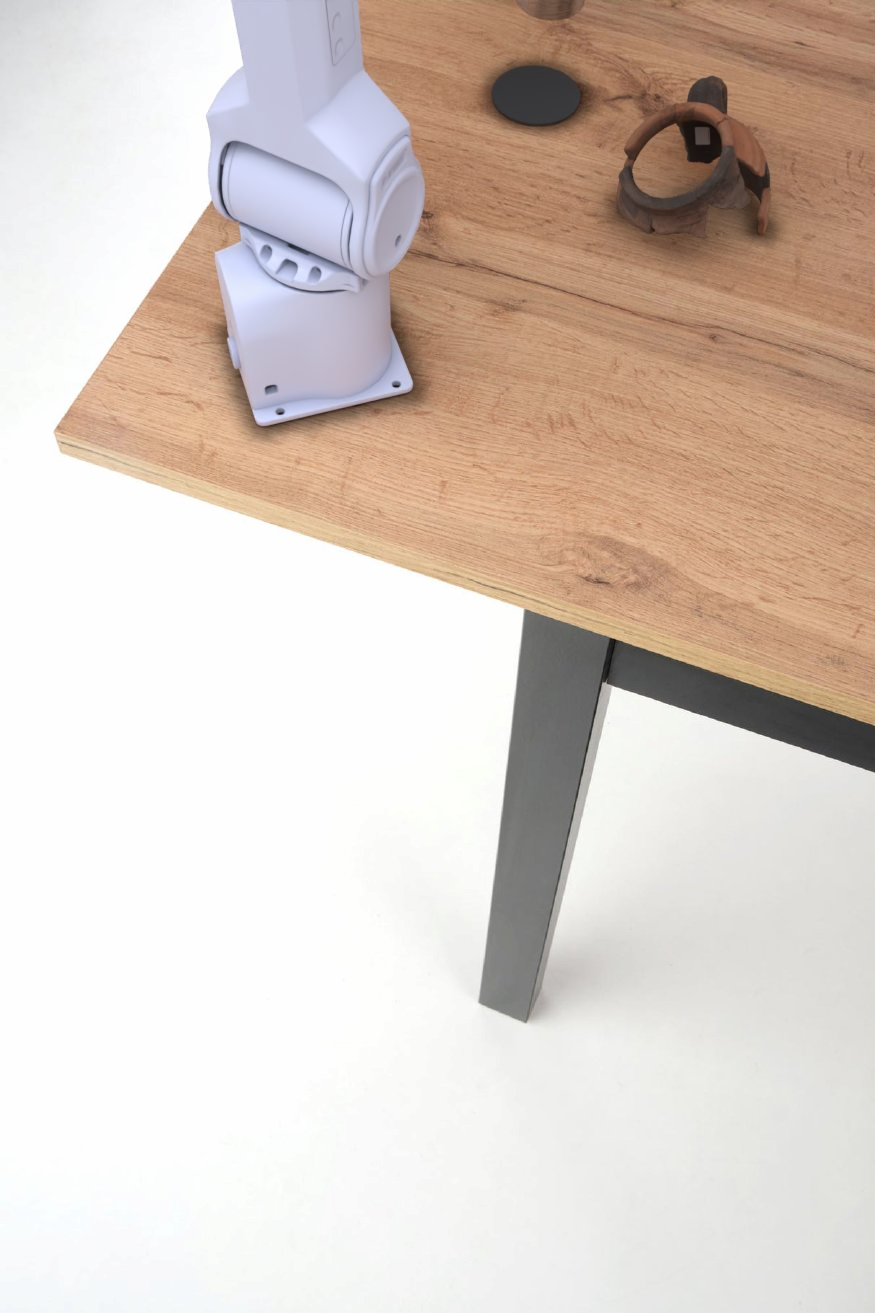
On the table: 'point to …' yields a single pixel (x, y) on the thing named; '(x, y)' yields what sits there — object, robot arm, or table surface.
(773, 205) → the table surface
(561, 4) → the steel pot
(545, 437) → the table surface
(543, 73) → the trivet
